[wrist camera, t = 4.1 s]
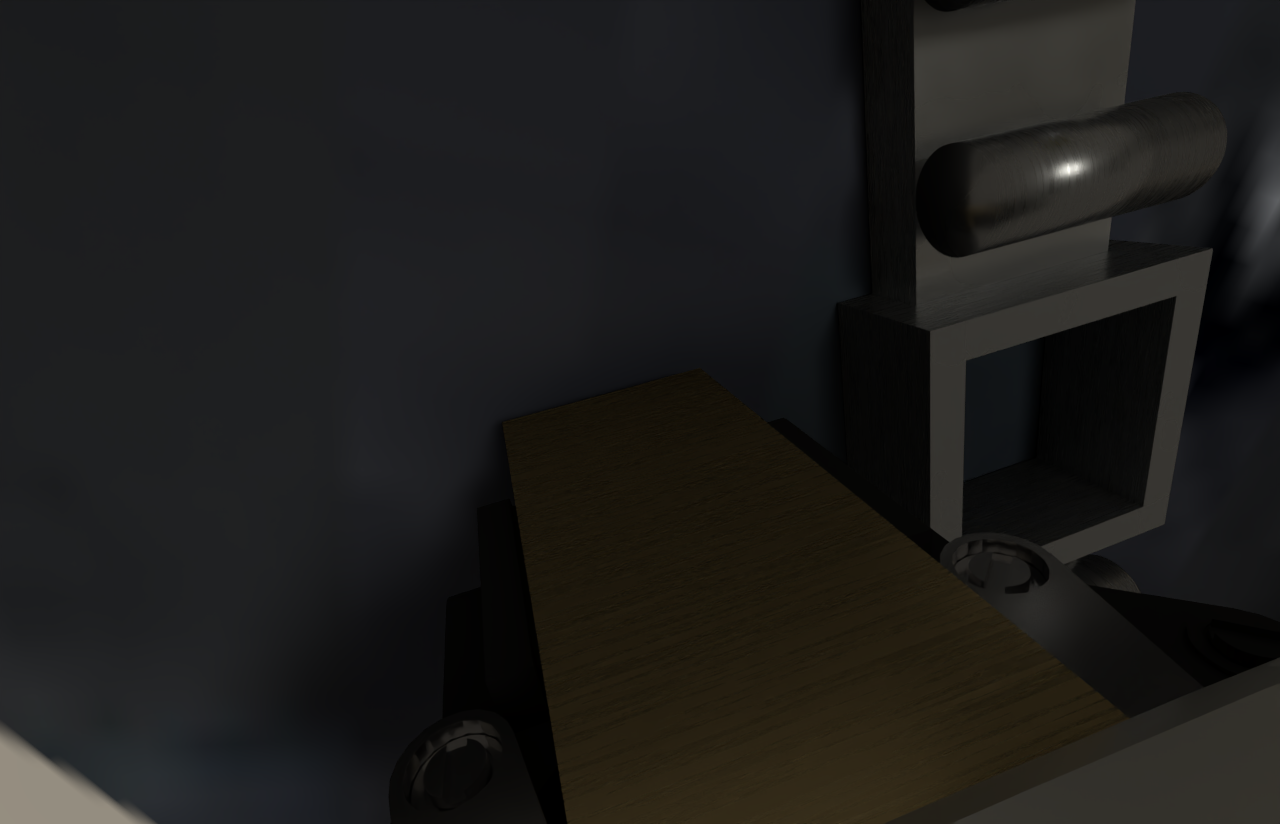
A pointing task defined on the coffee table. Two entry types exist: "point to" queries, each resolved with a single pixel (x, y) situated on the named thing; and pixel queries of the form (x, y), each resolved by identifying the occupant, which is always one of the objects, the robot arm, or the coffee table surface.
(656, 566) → the brown rectangular block
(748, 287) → the coffee table surface
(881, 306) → the grey segmented bar
